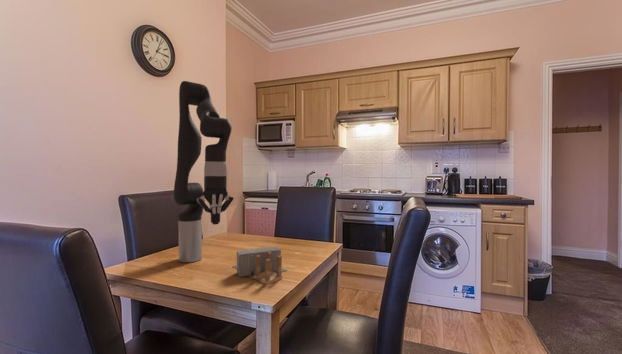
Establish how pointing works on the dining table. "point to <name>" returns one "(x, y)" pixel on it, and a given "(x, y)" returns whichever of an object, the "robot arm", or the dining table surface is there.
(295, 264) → the dining table surface
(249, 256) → the skincare box
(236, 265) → the mat
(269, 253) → the stool
